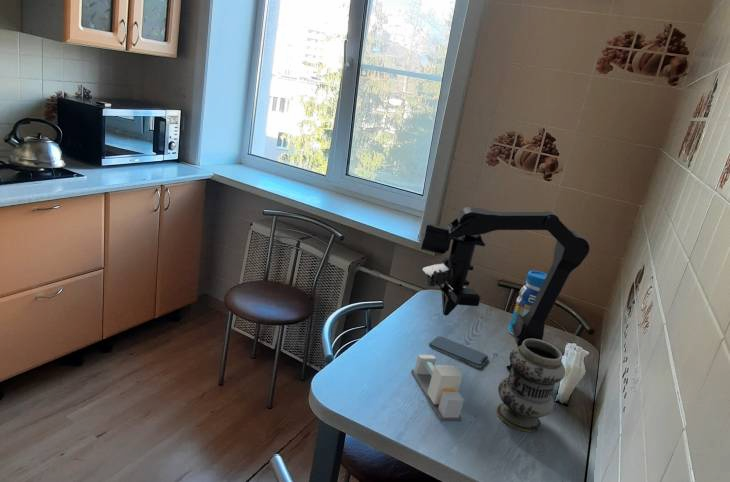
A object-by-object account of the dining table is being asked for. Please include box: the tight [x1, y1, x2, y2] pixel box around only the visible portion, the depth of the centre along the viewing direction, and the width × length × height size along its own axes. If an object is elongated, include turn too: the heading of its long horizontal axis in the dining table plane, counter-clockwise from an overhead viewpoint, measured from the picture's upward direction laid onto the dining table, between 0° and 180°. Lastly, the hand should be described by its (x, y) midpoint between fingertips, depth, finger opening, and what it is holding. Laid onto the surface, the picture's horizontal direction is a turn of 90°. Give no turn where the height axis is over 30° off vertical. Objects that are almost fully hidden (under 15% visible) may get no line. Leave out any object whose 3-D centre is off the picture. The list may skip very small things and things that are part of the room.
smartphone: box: [428, 335, 489, 369], centre depth 141 cm, size 8×2×15 cm
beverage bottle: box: [507, 270, 548, 336], centre depth 157 cm, size 8×8×20 cm
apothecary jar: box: [496, 339, 566, 433], centre depth 114 cm, size 12×12×18 cm
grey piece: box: [410, 354, 464, 422], centre depth 118 cm, size 5×18×5 cm, turn 15°
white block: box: [427, 364, 463, 404], centre depth 115 cm, size 5×4×7 cm
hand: (445, 314), depth 133 cm, fingers closed
